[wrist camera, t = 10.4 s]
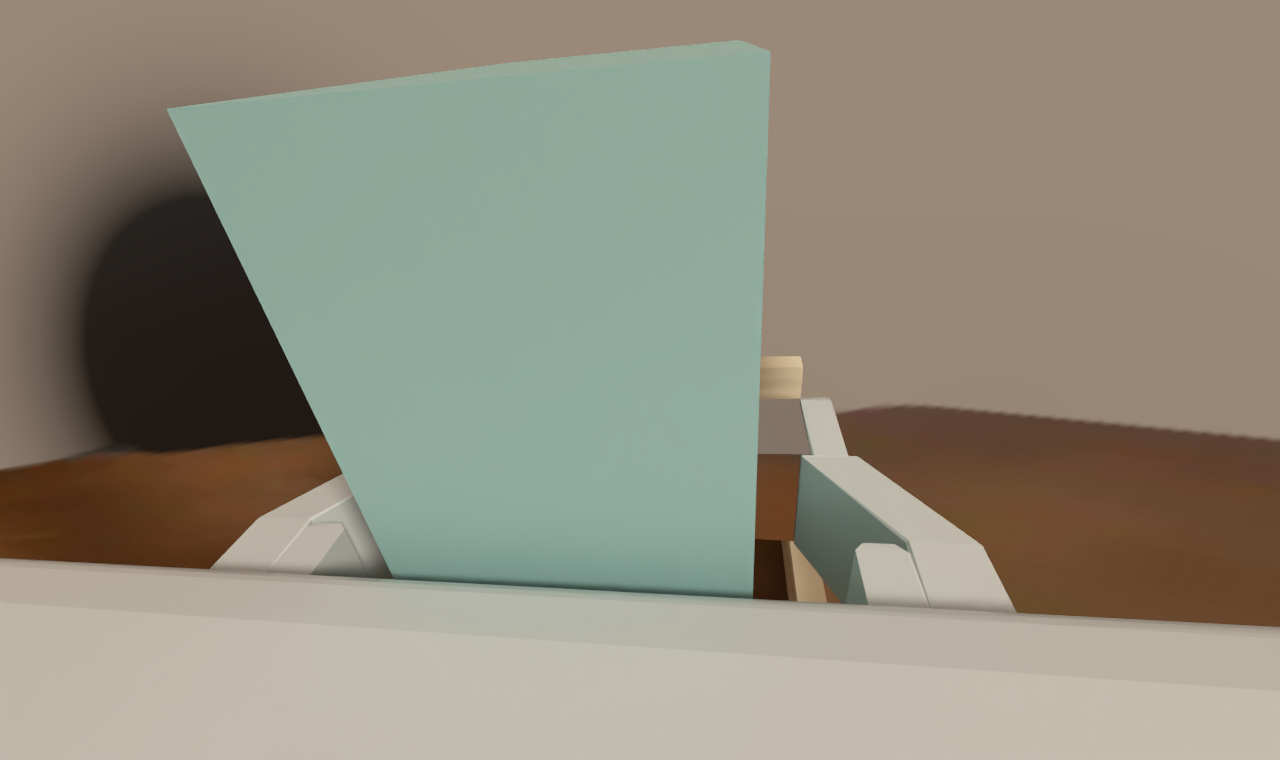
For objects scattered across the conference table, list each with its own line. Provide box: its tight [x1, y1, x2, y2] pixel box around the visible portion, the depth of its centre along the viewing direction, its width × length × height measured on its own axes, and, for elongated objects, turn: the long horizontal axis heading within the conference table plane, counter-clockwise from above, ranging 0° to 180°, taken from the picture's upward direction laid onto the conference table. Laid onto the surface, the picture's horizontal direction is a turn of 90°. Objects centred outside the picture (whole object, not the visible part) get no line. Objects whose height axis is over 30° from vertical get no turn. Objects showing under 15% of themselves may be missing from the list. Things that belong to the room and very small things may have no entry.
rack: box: [759, 356, 827, 603], centre depth 29 cm, size 18×13×8 cm
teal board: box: [167, 40, 771, 599], centre depth 10 cm, size 4×7×14 cm, turn 173°
